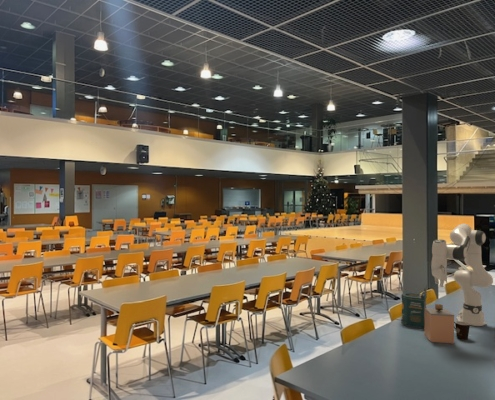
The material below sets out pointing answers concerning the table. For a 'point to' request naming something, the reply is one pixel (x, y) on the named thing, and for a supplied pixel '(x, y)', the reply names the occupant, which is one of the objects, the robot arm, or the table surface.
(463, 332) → the coffee mug
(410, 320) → the donation box
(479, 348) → the table surface
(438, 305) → the plunger
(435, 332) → the brown block
